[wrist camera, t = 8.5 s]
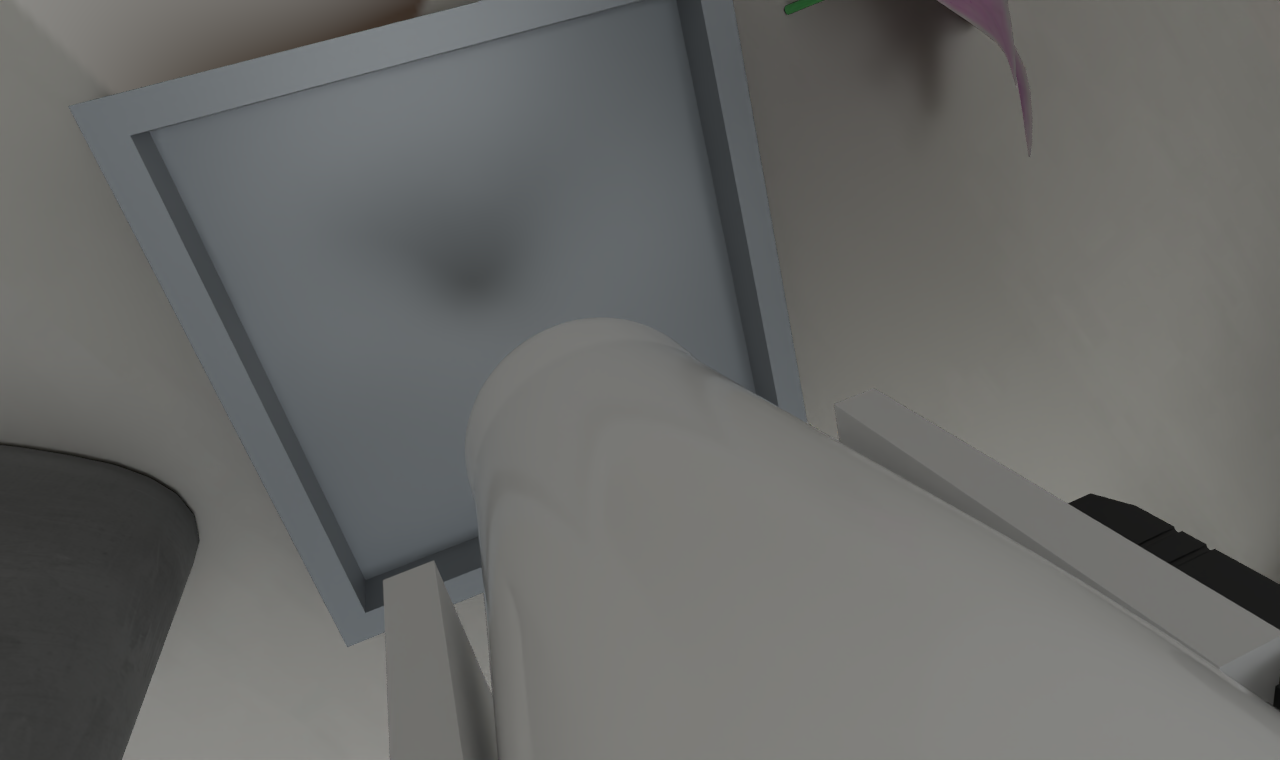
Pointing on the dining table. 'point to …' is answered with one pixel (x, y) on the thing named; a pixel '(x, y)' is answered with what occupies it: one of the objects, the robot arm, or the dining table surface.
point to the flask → (83, 600)
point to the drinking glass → (783, 590)
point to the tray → (443, 245)
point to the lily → (990, 14)
